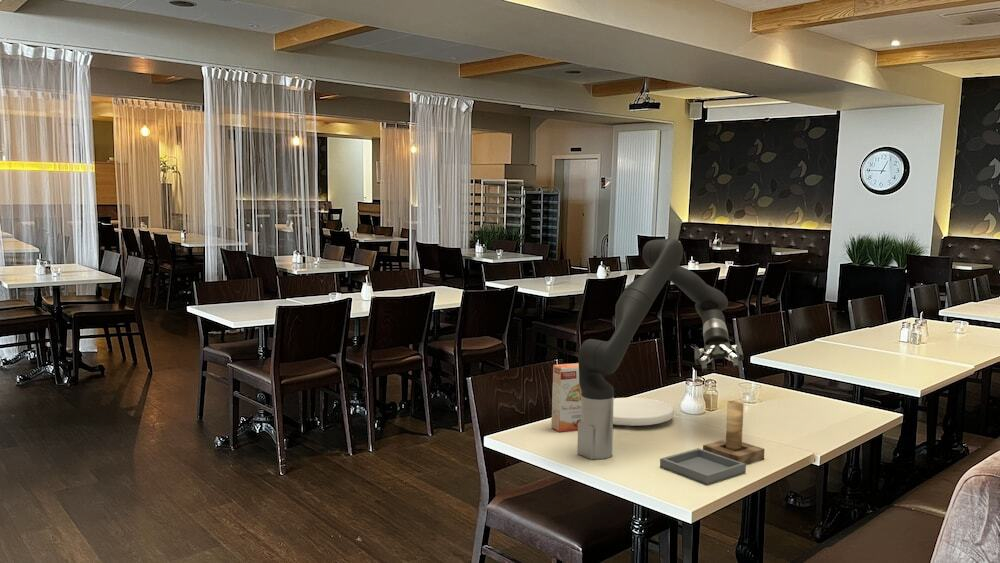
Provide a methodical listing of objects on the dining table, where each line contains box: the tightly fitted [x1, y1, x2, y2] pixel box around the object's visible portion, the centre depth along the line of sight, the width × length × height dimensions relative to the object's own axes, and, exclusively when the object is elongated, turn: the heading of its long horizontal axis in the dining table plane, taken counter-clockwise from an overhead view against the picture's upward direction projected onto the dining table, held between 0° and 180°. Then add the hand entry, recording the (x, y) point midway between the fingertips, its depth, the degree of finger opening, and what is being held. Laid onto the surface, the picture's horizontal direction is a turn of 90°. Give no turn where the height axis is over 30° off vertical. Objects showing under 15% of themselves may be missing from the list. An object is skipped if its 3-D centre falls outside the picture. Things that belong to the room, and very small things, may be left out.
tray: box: [659, 447, 747, 486], centre depth 202 cm, size 16×16×2 cm
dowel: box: [725, 400, 745, 452], centre depth 212 cm, size 4×4×16 cm
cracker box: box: [551, 362, 581, 433], centre depth 239 cm, size 14×6×21 cm, turn 114°
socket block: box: [702, 438, 765, 466], centre depth 213 cm, size 12×12×3 cm
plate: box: [613, 397, 675, 427], centre depth 251 cm, size 28×6×27 cm
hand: (720, 370), depth 222 cm, fingers open, 8 cm apart
